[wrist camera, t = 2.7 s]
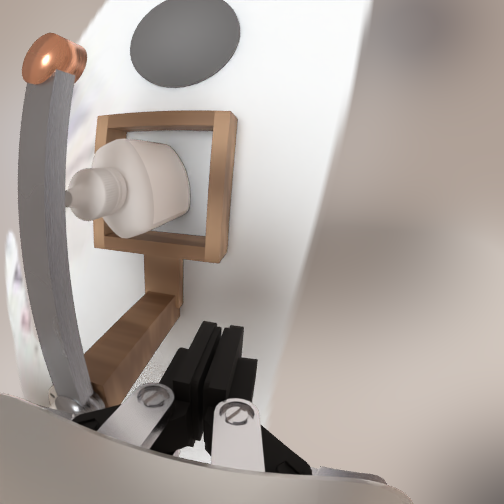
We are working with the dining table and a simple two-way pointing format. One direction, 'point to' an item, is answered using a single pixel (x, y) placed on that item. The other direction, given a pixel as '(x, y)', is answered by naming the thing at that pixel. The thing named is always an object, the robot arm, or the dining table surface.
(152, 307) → the wooden frame with post
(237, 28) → the mat
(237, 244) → the dining table surface
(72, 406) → the ball-tipped grey rod
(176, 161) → the eye dropper bottle
